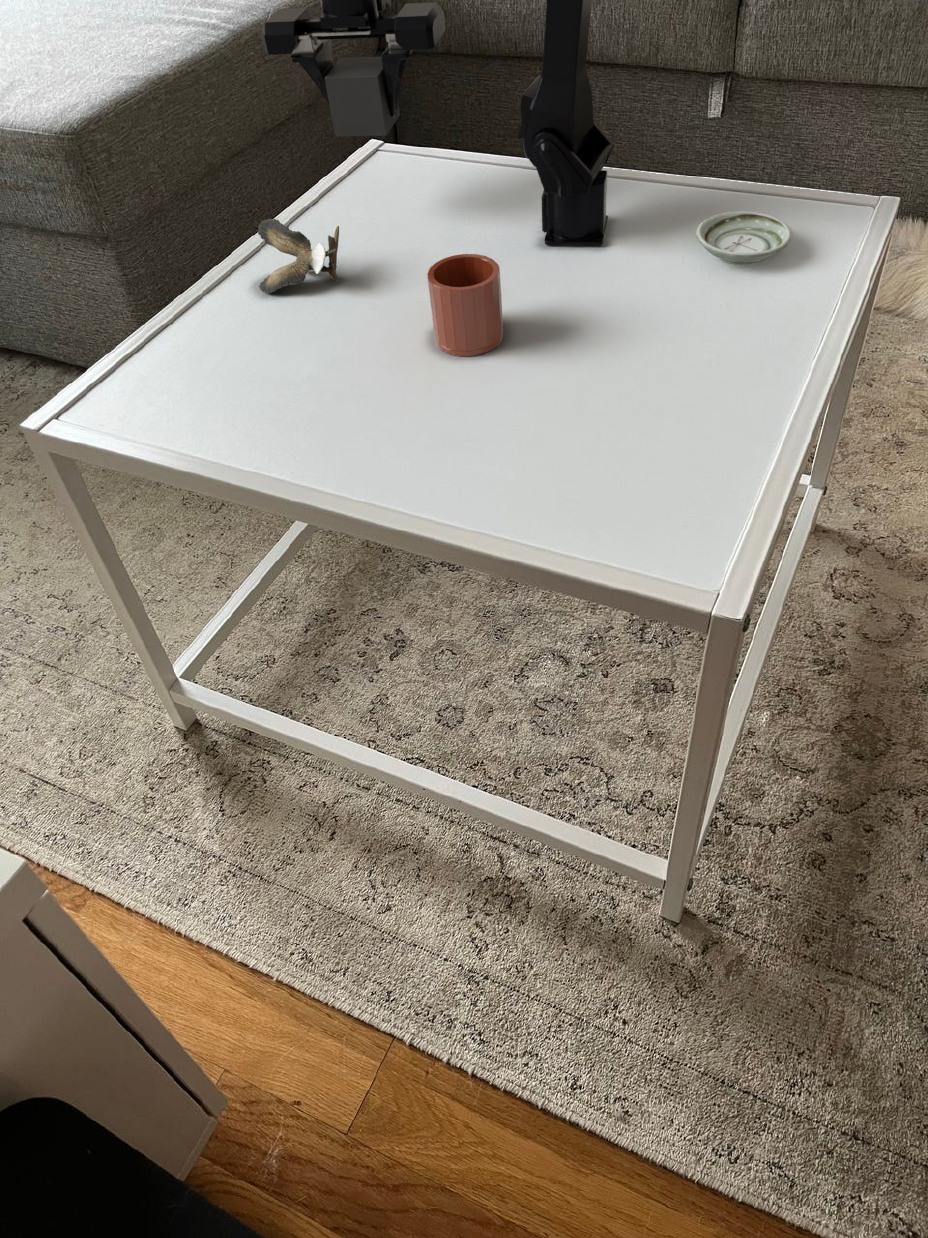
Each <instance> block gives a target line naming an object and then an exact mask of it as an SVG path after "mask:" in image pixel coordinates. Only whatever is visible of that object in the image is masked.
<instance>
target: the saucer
mask: <svg viewBox="0 0 928 1238" xmlns="http://www.w3.org/2000/svg"><path fill="white" fill-rule="evenodd" d="M695 234H696V239H697V241H698V243H699V244H700V245H701V246H702V247H703V248H704V249H705V250H706V251H707V252H708V253H709V254H711V255H712V256H714V257H716V258H718V259H720V260H721V261H723V262H726V263H728V264H734V265H749V264H754V263H757V262H759V261H763V260H766V259H769V258H770V257H771V258H772V257H773V256H775V255H776V254H778V253H779V252H781V251H782V250H784V249H785V248H787V246H788V245H789V244H790V242H791V240H792V237H793V236H792V229H791V228H790V227H789V225H788V224H787V223H786V222H785V221H783V220H782V219H780V218H778V217H776V216H774V215H771V214H768V213H763V212H758V211H749V210H748V211H747V210H740V211H739V210H738V211H736V210H735V211H727V212H722V213H718V214H715V215H712V216H710V217H707V218H706V219H704V220H703V221H702V222H701V223H700V224H699V225H698V226H697V228H696V233H695Z"/></svg>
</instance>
